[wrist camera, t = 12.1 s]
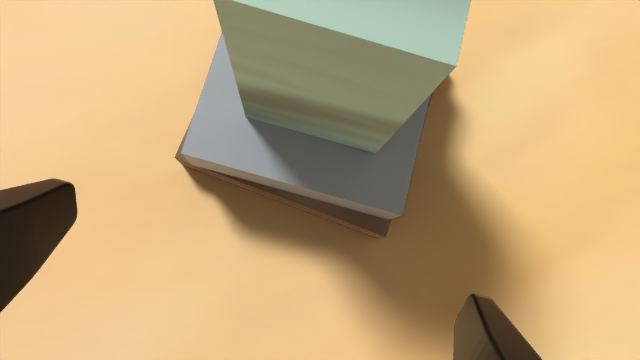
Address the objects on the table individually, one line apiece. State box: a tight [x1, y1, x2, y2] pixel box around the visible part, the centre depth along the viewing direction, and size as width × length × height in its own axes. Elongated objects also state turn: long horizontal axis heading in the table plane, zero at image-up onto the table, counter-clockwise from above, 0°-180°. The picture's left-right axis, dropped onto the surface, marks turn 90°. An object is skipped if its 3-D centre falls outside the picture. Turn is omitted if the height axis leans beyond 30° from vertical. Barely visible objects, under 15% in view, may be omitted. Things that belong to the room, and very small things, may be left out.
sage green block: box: [214, 0, 471, 154], centre depth 15 cm, size 6×6×9 cm
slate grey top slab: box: [181, 33, 431, 220], centre depth 21 cm, size 10×10×2 cm
